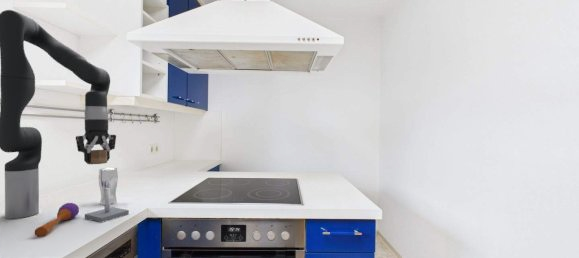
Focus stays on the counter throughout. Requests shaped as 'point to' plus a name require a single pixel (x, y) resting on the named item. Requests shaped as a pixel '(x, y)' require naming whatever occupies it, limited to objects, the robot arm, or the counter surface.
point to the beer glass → (108, 183)
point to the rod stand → (106, 211)
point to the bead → (98, 156)
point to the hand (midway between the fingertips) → (97, 161)
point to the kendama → (58, 218)
